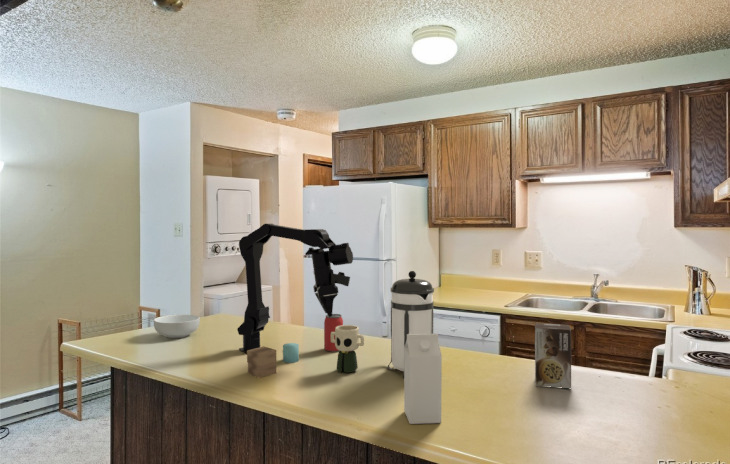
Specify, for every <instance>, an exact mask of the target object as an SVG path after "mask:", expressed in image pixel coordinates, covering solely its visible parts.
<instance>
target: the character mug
mask: <svg viewBox="0 0 730 464" xmlns="http://www.w3.org/2000/svg"><path fill="white" fill-rule="evenodd" d="M334 335H335V340H334ZM331 342H332V343H335V346H336V348H337V349H338V350H340V351H338V353H337V361H336V370H337V372H342V371H343V373H352V372H355V371H357V370H358V359H357V354H356V350H358V349H359V347H364V345H365V338H364V335H363V334H360V328H359V326H357V325H353V324H352V325H351V324H343V325H342V326H337V327H336V328H335V332H331Z"/></svg>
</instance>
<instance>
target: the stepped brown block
mask: <svg viewBox="0 0 730 464" xmlns="http://www.w3.org/2000/svg"><path fill="white" fill-rule="evenodd" d="M246 361H247V364H248V363H251V364H254V365H257V366H263V365H267V364H270V363H273V362H276V363H277V349H274V348H271V347H267V346H260V347H259V348H255V349H251V350H247V353H246Z"/></svg>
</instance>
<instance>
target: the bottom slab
mask: <svg viewBox="0 0 730 464" xmlns="http://www.w3.org/2000/svg"><path fill="white" fill-rule="evenodd" d="M247 373H248V374H250V375H251V376H254V377H255V376H256V378H257V377H259V378H262V377H267V376H270V375H275V374H277V361H276V362H273V363H270V364H267V365H263V366H257V365H254V364H251V363H247Z"/></svg>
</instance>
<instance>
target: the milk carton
mask: <svg viewBox="0 0 730 464" xmlns="http://www.w3.org/2000/svg"><path fill="white" fill-rule="evenodd" d="M440 346H441V345H440V343H439V334H438V333H433V334H407V340H406V344H405V347H404V371H403V374H404V379H403V380H404V381H403V382H404V383H403V385H404V386H403V387H404V388H403V391H404V392H403V393H404V395H403V401H404V403H403V404H404V405H403V411H404V413H405V415H406V418H407V420H408V423H409V424H410V425H413V424H414V425H418V424H441V423H442V374H443V373H442V371H443V369H442V368H443V367H442V358H443V355H442V350H441V347H440Z"/></svg>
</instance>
